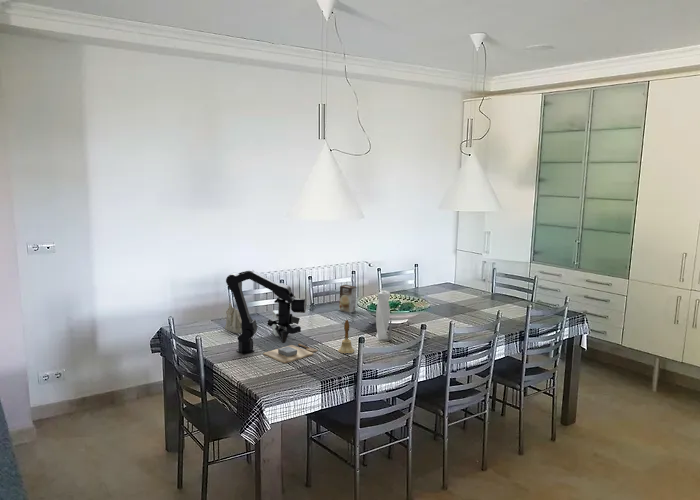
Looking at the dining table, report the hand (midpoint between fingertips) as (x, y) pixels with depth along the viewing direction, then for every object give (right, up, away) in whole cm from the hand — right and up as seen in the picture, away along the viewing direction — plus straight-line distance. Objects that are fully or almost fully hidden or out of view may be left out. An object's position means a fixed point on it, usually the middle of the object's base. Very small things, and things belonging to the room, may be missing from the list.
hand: (283, 342), depth 259 cm
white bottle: (+50, -3, +29) cm, 58 cm away
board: (+2, -6, 0) cm, 6 cm away
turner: (+10, -4, +10) cm, 15 cm away
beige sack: (-29, +1, +39) cm, 48 cm away
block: (0, -3, +1) cm, 4 cm away
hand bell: (+30, -6, +8) cm, 32 cm away
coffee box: (+30, +6, +83) cm, 88 cm away
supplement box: (-6, -1, +30) cm, 31 cm away
